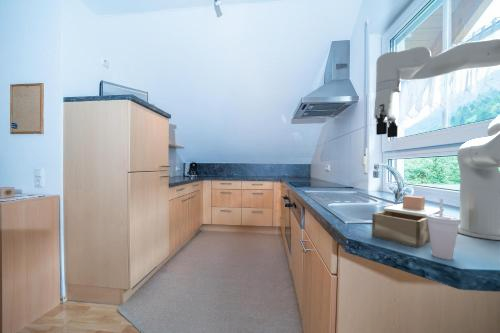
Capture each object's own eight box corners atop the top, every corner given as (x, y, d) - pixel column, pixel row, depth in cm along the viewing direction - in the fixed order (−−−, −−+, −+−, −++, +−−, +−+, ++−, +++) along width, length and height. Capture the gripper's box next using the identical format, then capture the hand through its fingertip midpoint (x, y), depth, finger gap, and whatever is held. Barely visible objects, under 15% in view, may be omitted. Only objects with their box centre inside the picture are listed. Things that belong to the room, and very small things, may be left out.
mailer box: (391, 227, 77) (392, 208, 77) (435, 236, 67) (435, 214, 67) (372, 236, 67) (372, 213, 67) (419, 248, 57) (419, 222, 57)
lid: (400, 205, 82) (401, 193, 82) (443, 211, 73) (443, 197, 73) (383, 210, 72) (383, 196, 72) (429, 217, 63) (430, 201, 63)
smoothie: (445, 251, 55) (446, 197, 55) (468, 262, 49) (469, 201, 49) (419, 250, 56) (419, 196, 56) (438, 261, 49) (439, 200, 49)
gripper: (386, 96, 87) (385, 138, 87) (366, 86, 76) (365, 134, 76) (408, 91, 81) (407, 137, 81) (390, 79, 70) (389, 131, 70)
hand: (387, 135), depth 78 cm, fingers open, 9 cm apart
